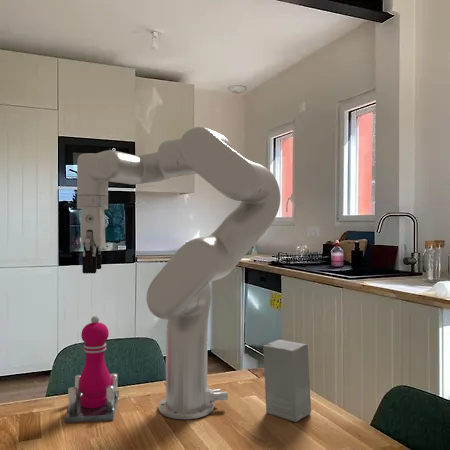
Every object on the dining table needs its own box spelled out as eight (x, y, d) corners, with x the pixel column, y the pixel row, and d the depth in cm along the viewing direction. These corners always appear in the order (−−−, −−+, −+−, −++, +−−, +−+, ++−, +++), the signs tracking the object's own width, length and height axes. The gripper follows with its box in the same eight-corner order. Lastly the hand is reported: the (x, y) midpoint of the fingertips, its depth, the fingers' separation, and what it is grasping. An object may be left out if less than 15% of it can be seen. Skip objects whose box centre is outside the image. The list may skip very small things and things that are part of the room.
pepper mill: (102, 411, 99) (102, 320, 99) (72, 408, 100) (72, 318, 100) (116, 398, 106) (116, 313, 106) (88, 395, 107) (88, 312, 107)
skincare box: (311, 414, 100) (312, 343, 100) (293, 425, 95) (293, 350, 95) (280, 404, 106) (281, 337, 106) (261, 413, 101) (262, 342, 101)
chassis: (118, 395, 111) (118, 370, 111) (113, 420, 97) (113, 391, 97) (76, 397, 109) (76, 372, 109) (65, 422, 96) (65, 393, 96)
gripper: (104, 201, 106) (103, 274, 106) (111, 204, 123) (111, 267, 123) (70, 201, 104) (70, 275, 105) (82, 204, 122) (82, 267, 122)
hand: (92, 271), depth 114 cm, fingers open, 9 cm apart
